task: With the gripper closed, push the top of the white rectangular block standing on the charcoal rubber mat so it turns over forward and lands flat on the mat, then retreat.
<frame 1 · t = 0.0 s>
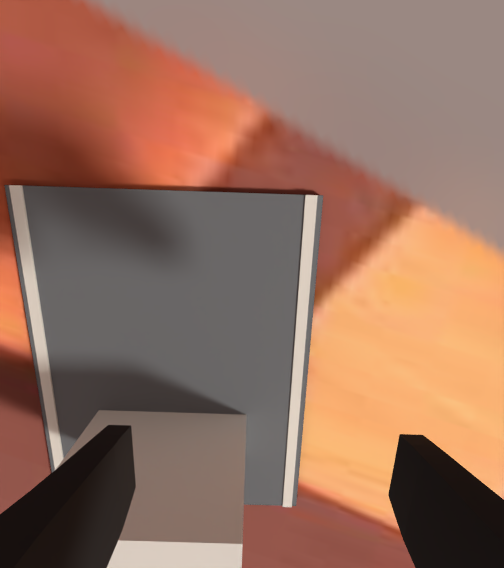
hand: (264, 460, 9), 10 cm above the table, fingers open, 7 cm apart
mat: (173, 364, 19), on the table
white rectangular block: (173, 433, 20), resting on mat
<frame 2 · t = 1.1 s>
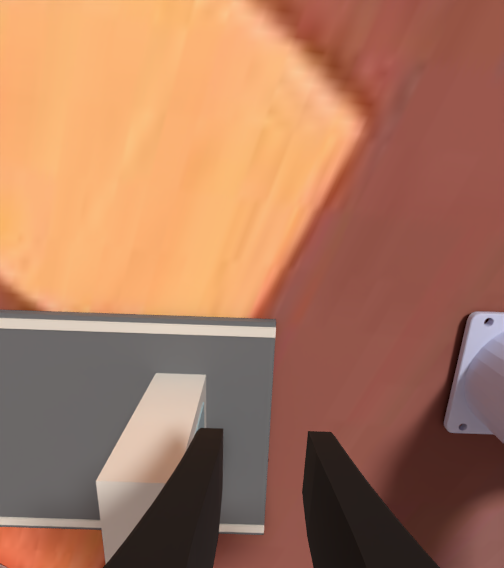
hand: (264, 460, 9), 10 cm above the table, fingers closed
mat: (115, 429, 21), on the table
white rectangular block: (182, 436, 20), resting on mat
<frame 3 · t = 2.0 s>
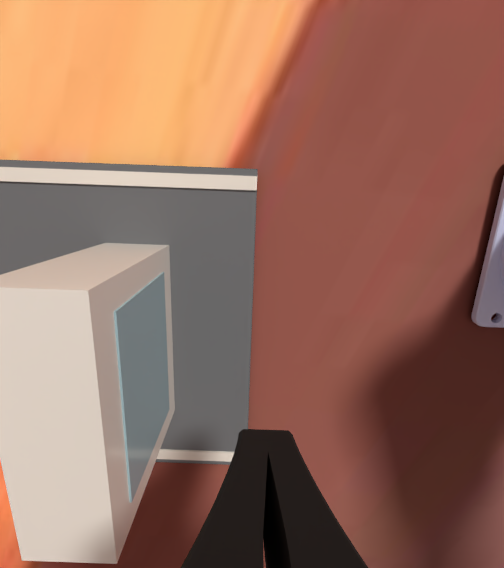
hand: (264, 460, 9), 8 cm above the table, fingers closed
mat: (59, 325, 17), on the table
white rectangular block: (142, 332, 16), resting on mat
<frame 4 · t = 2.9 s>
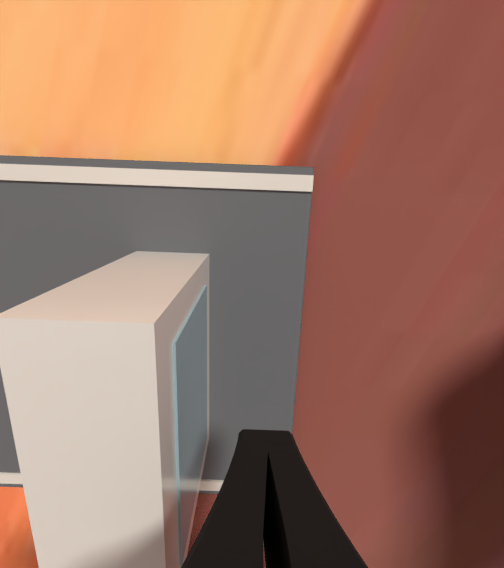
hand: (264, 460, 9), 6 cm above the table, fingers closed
mat: (81, 343, 15), on the table
white rectangular block: (175, 351, 14), resting on mat
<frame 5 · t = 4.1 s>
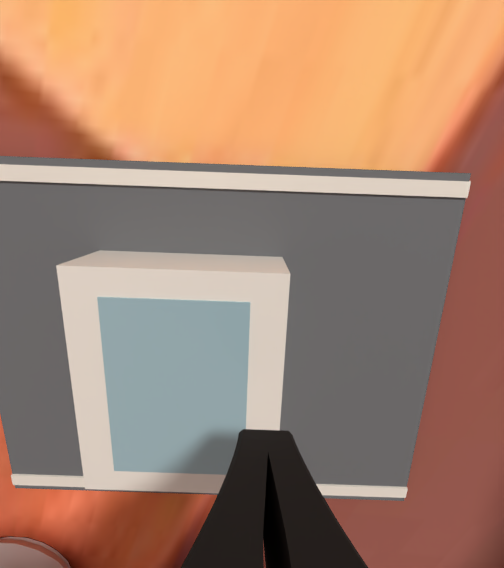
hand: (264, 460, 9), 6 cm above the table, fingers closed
mat: (211, 348, 15), on the table
white rectangular block: (278, 373, 13), point 2 cm above the table, tilted 90°, touching mat
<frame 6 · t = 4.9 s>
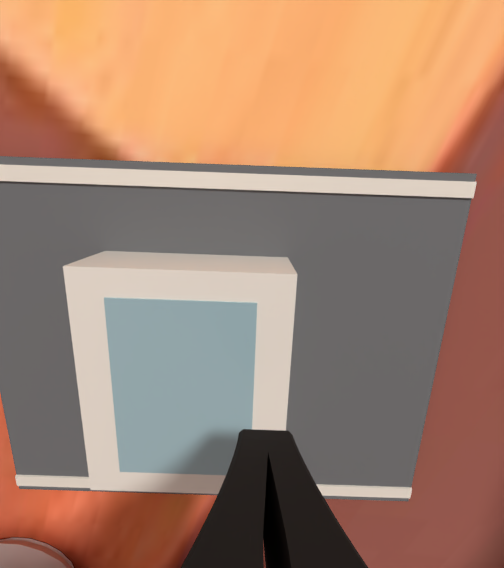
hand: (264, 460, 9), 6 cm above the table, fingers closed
mat: (216, 348, 15), on the table
white rectangular block: (284, 374, 13), point 2 cm above the table, tilted 90°, touching mat
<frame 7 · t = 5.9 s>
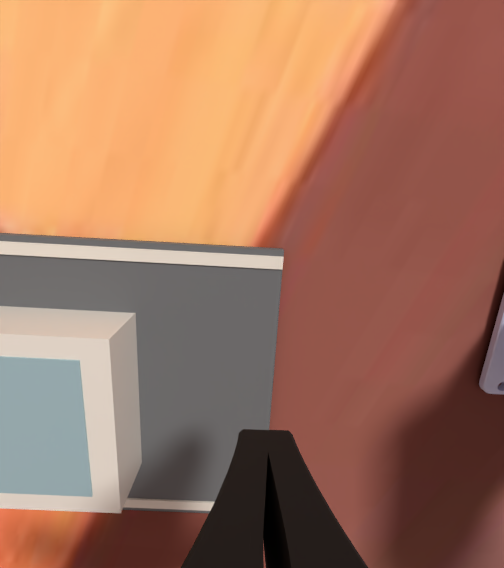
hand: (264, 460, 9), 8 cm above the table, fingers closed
mat: (87, 384, 17), on the table
white rectangular block: (128, 411, 15), point 2 cm above the table, tilted 90°, touching mat
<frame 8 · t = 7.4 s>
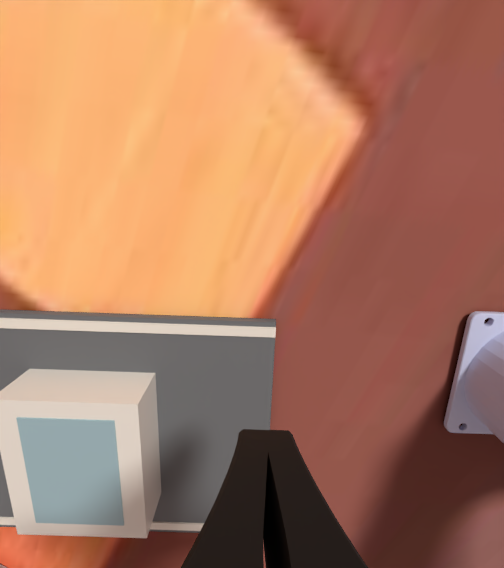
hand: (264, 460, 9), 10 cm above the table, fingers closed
mat: (115, 428, 21), on the table
white rectangular block: (151, 454, 19), point 2 cm above the table, tilted 90°, touching mat
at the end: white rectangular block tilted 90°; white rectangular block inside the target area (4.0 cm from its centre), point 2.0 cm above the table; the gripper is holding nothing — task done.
